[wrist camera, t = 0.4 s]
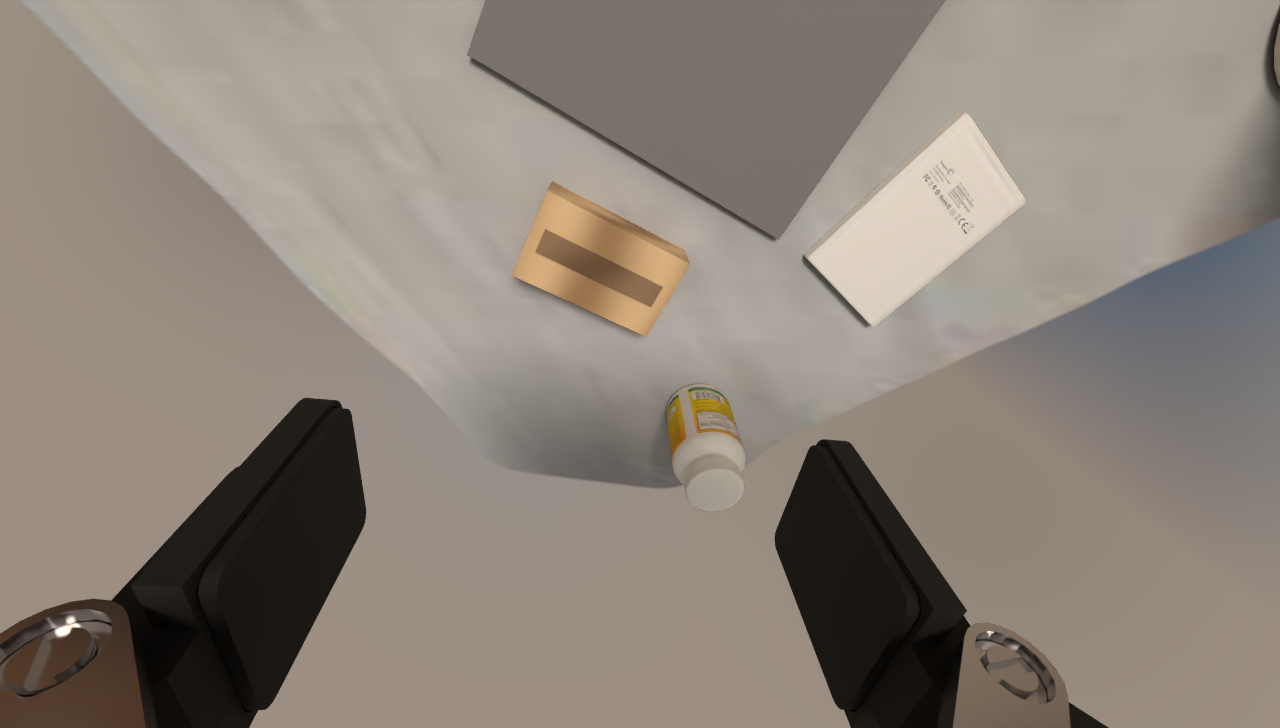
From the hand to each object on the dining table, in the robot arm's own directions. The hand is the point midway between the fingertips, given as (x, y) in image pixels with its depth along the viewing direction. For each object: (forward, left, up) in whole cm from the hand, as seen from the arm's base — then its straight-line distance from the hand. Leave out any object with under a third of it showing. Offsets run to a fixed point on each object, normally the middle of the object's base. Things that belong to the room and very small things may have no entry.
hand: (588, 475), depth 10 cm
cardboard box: (-1, +4, -27) cm, 27 cm away
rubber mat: (0, -12, -26) cm, 29 cm away
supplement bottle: (-14, +12, -27) cm, 32 cm away
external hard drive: (-19, -8, -27) cm, 34 cm away
